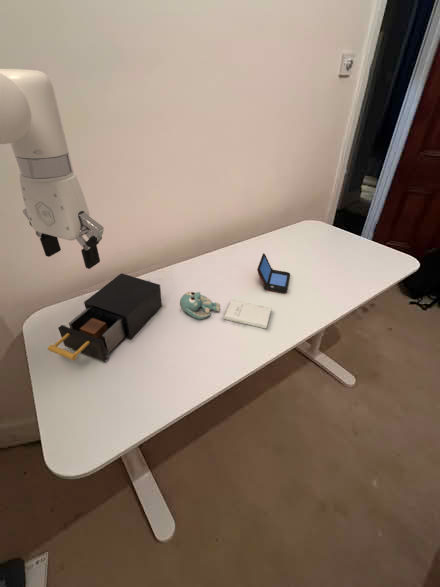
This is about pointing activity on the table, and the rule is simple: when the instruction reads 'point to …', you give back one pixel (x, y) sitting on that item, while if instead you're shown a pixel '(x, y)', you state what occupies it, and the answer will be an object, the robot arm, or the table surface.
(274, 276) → the handheld console
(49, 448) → the table surface
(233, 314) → the hard drive
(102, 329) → the block
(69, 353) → the drawer
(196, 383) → the table surface
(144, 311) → the cabinet
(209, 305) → the stuffed animal
